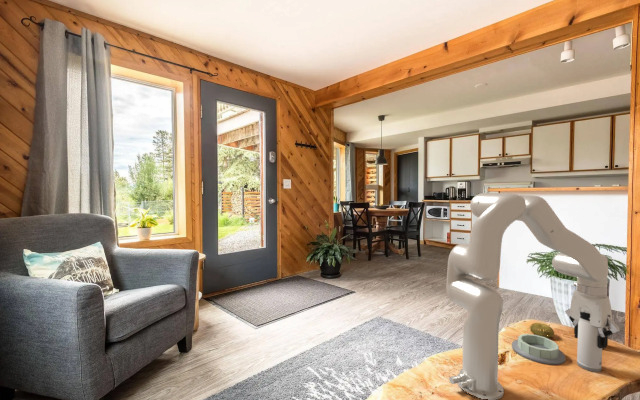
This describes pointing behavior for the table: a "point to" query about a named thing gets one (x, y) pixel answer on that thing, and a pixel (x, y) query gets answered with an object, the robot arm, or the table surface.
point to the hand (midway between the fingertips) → (590, 341)
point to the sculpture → (540, 326)
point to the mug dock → (540, 360)
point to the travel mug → (588, 345)
